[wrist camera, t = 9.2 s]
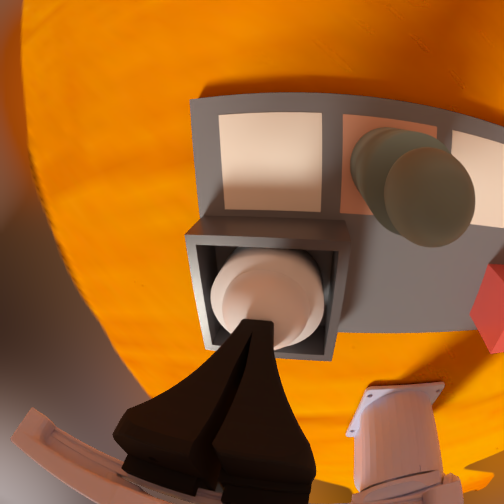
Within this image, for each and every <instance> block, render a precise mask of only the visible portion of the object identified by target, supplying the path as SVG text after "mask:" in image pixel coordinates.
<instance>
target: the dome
mask: <svg viewBox="0 0 504 504" xmlns="http://www.w3.org/2000/svg"><path fill="white" fill-rule="evenodd" d="M211 305H212V309H213V312H214V314H215V316H216V318H217V319H218V321H219V322H220V324H221V325H222V326H223V327H224V328H225V329H226V330H227V331H228V332H229V333H232V332H233V331H234V330H235V328H236V327H237V326H238V324H239V323H240V322H241V320H242V319H254V320H266V321H272V322H273V323H274V350H277V349H280V348H283V347H286V346H290V345H293V344H296V343H299V342H300V341H302V340H304V339H306V338H307V337H309V336H310V335H311V334H312V333H313V332H314V331H315V330H316V328H317V327H318V325H319V324H320V322H321V319H322V317H323V312H324V289H323V277H322V274H321V271H320V269H319V266H318V265H317V263H316V262H315V260H314V259H313V258H312V257H311V255H309V254H308V253H307V252H306V251H305V250H303V249H283V248H262V247H240V246H239V247H238V248H236V249H235V250H234V251H233V252H232V253H231V254H230V255H229V256H228V258H227V259H226V261H225V263H224V265H223V266H222V268H221V270H220V272H219V273H218V275H217V277H216V279H215V281H214V283H213V285H212V289H211Z"/></svg>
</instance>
